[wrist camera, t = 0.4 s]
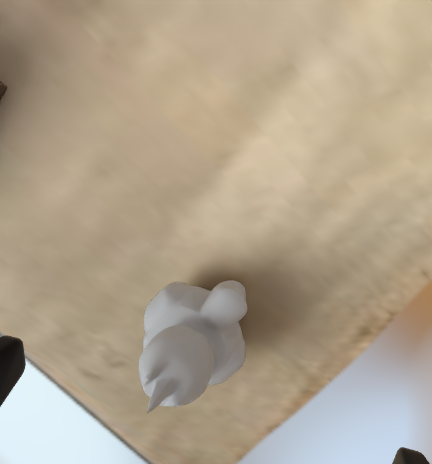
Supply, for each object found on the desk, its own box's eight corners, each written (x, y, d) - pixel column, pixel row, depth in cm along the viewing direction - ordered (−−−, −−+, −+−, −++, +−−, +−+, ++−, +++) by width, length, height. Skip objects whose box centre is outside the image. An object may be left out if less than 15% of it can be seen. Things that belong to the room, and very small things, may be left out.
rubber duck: (135, 317, 23) (56, 400, 15) (210, 237, 21) (166, 284, 13) (203, 382, 23) (160, 498, 15) (284, 307, 21) (283, 394, 13)
